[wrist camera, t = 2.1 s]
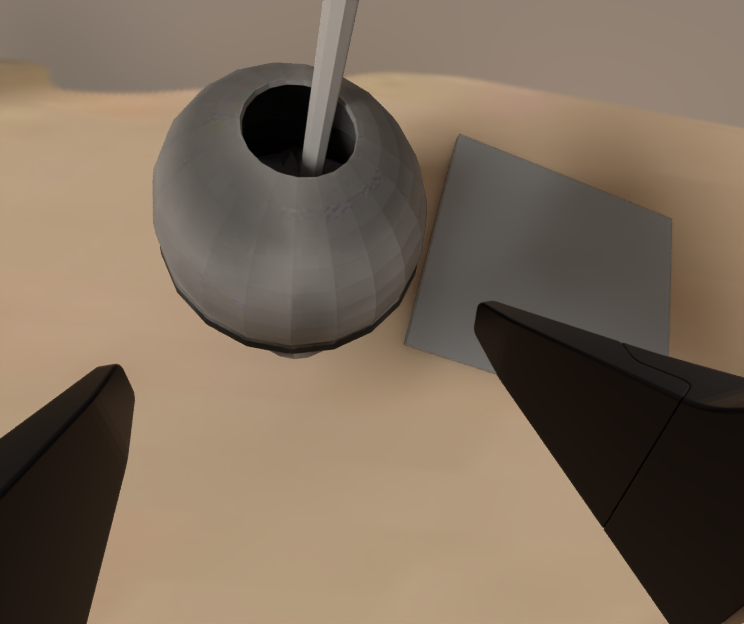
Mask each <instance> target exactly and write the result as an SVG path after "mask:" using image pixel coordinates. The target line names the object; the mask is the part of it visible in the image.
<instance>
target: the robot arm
mask: <svg viewBox="0 0 744 624" xmlns="http://www.w3.org/2000/svg"><path fill="white" fill-rule="evenodd" d="M474 333H475V335H476V337H477V339H478V341H479V343H480V345H481V347H482V348H483V350H484V352H485V354H486V356H487V358H488V360H489V361H490V363H491V365H492V367H493V369H494V371H495V372H496V374H497V376H498V377H499V379H500V380H501V382H502V383H503V385H504V386H505V388H506V389H507V391H508V392H509V394H510V395H511V396H512V398H513V399H514V401H515V402H516V404H517V405H518V406H519V408H520V409H521V411H522V412H523V414H524V415H525V417H526V418H527V419H528V421H529V422H530V424H531V425H532V427H533V428H534V430H535V431H536V432H537V434H538V435H539V437H540V438H541V440H542V441H543V443H544V444H545V445H546V447H547V448H548V450H549V451H550V453H551V454H552V455H553V457H554V458H555V460H556V461H557V463H558V464H559V466H560V467H561V468H562V470H563V471H564V473H565V474H566V476H567V477H568V479H569V480H570V481H571V483H572V484H573V486H574V487H575V489H576V490H577V491H578V493H579V494H580V496H581V497H582V499H583V500H584V502H585V503H586V504H587V506H588V507H589V509H590V510H591V512H592V513H593V515H594V516H595V517H596V519H597V520H598V522H599V523H600V525H601V526H602V527H603V528H604V531H605V532H606V534H607V535H608V537H609V538H610V539H611V541H612V542H613V544H614V545H615V547H616V548H617V549H618V551H619V552H620V554H621V555H622V557H623V558H624V560H625V561H626V562H627V564H628V565H629V567H630V568H631V570H632V571H633V573H634V574H635V575H636V577H637V578H638V580H639V581H640V583H641V584H642V585H643V587H644V588H645V590H646V591H647V593H648V594H649V596H650V597H651V598H652V600H653V601H654V603H655V604H656V606H657V607H658V609H659V610H660V611H661V613H662V614H663V616H664V617H665V619H666V620H667V622H668V623H669V624H742V623H744V377H740V376H736V375H733V374H729V373H726V372H722V371H718V370H715V369H711V368H707V367H704V366H700V365H697V364H693V363H689V362H686V361H682V360H679V359H675V358H672V357H668V356H665V355H662V354H658V353H655V352H652V351H649V350H645V349H642V348H639V347H636V346H633V345H630V344H627V343H621V342H620V341H617V340H614V339H611V338H608V337H605V336H602V335H599V334H596V333H593V332H589V331H586V330H583V329H580V328H577V327H574V326H571V325H568V324H565V323H562V322H559V321H556V320H552V319H549V318H546V317H543V316H540V315H537V314H534V313H531V312H528V311H525V310H522V309H519V308H515V307H512V306H509V305H506V304H503V303H500V302H497V301H493V300H491V301H485V302H481V303H479V304H478V306H477V311H476V317H475V323H474ZM134 403H135V396H134V391H133V389H132V386H131V384H130V382H129V380H128V378H127V376H126V374H125V372H124V370H123V368H122V367H121V366H120V365H119V364H111V365H105V366H99V367H97V368H95V369H94V370H92V371H91V372H90V373H88V374H87V375H86V376H84V377H83V378H82V379H80V380H79V381H78V382H76V383H75V384H73V385H72V386H71V387H69V388H68V389H67V390H65V391H64V392H63V393H61V394H60V395H59V396H57V397H56V398H55V399H53V400H52V401H50V402H49V403H48V404H46V405H45V406H44V407H42V408H41V409H40V410H38V411H37V412H36V413H34V414H33V415H31V416H30V417H29V418H27V419H26V420H25V421H23V422H22V423H21V424H19V425H18V426H17V427H15V428H14V429H13V430H11V431H10V432H8V433H7V434H6V435H4V436H3V437H2V438H0V624H87V620H88V616H89V612H90V608H91V604H92V600H93V596H94V592H95V589H96V585H97V581H98V577H99V573H100V569H101V565H102V561H103V557H104V553H105V549H106V545H107V541H108V537H109V533H110V529H111V525H112V521H113V517H114V513H115V509H116V505H117V501H118V497H119V493H120V489H121V485H122V481H123V477H124V474H125V469H126V465H127V460H128V453H129V445H130V437H131V428H132V420H133V411H134Z"/></svg>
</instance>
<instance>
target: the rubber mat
mask: <svg viewBox="0 0 744 624" xmlns="http://www.w3.org/2000/svg"><path fill="white" fill-rule="evenodd" d="M671 245H672V219H671V218H669V217H666V216H664V215H661V214H659V213H656V212H654V211H651V210H649V209H646V208H644V207H641V206H639V205H636V204H634V203H631V202H629V201H626V200H624V199H621V198H619V197H616V196H614V195H611V194H609V193H606V192H604V191H601V190H599V189H596V188H594V187H591V186H589V185H586V184H584V183H582V182H579V181H577V180H574V179H572V178H569V177H567V176H564V175H562V174H559V173H557V172H554V171H552V170H549V169H547V168H544V167H542V166H539V165H537V164H534V163H532V162H529V161H527V160H524V159H522V158H519V157H517V156H514V155H512V154H509V153H507V152H504V151H502V150H499V149H497V148H494V147H492V146H489V145H487V144H484V143H482V142H479V141H477V140H474V139H472V138H469V137H467V136H464V135H462V134H459V136H458V137H457V139H456V142H455V146H454V150H453V154H452V158H451V162H450V166H449V170H448V174H447V178H446V182H445V185H444V189H443V193H442V197H441V201H440V205H439V209H438V213H437V217H436V221H435V225H434V228H433V232H432V236H431V240H430V244H429V248H428V252H427V256H426V260H425V264H424V268H423V272H422V275H421V279H420V283H419V287H418V291H417V295H416V299H415V303H414V307H413V311H412V315H411V318H410V322H409V326H408V330H407V334H406V338H405V342H404V345H407V346H410V347H413V348H416V349H419V350H422V351H426V352H429V353H432V354H435V355H438V356H441V357H444V358H447V359H450V360H453V361H457V362H460V363H463V364H466V365H469V366H472V367H475V368H478V369H481V370H484V371H487V372H491V373H494V374H496V372H495V371H494V369H493V367H492V365H491V363H490V361H489V360H488V358H487V356H486V354H485V352H484V350H483V348H482V347H481V345H480V343H479V341H478V339H477V337H476V335H475V333H474V323H475V317H476V311H477V306H478V304H479V303H481V302H485V301H491V300H493V301H497V302H500V303H503V304H506V305H509V306H512V307H515V308H519V309H522V310H525V311H528V312H531V313H534V314H537V315H540V316H543V317H546V318H549V319H552V320H556V321H559V322H562V323H565V324H568V325H571V326H574V327H577V328H580V329H583V330H586V331H589V332H593V333H596V334H599V335H602V336H605V337H608V338H611V339H614V340H617V341H620V342H621V343H627V344H630V345H633V346H636V347H639V348H642V349H645V350H649V351H652V352H655V353H658V354H662V355H665V356H668V354H669V317H670V281H671Z"/></svg>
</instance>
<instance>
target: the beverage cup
mask: <svg viewBox="0 0 744 624" xmlns="http://www.w3.org/2000/svg"><path fill="white" fill-rule="evenodd" d="M358 2H359V0H323V5H322V12H321V20H320V28H319V35H318V43H317V50H316V58H315V65H314V67H313V66H309V65H306V64H290V63H269V64H264V65H259V66H254V67H250V68H245V69H239V70H236V71H234V72H232V73H230V74H228V75H226V76H225V77H223V78H221V79H219V80H217V81H215V82H213V83H211V84H210V85H208V86H206V87H205V88H204V89H203V90H202V91H201V92H199V93H198V94H197V95H196V97H195V98H194V99H193V100H192V101H191V102H190V103H189V104H188V105H187V106H186V107H185V108H184V110H183V111H182V112H181V113H180V114H179V115H178V116H177V117H176V118H175V119H174V120H173V122H172V125H171V127H170V129H169V131H168V133H167V136H166V139H165V141H164V144H163V146H162V149H161V151H160V154H159V156H158V159H157V161H156V164H155V167H154V172H153V224H154V228H155V232H156V236H157V238H158V241H159V243H160V250H161V255H162V257H163V259H164V262H165V264H166V267H167V269H168V271H169V274H170V276H171V279H172V281H173V284H174V286H175V288H176V291H177V293H178V294H179V295H180V296H181V297H182V298H183V299H184V300H185V301H186V302H187V304H188V305H189V306H190V307H191V308H192V309H193V310H194V311H195V312H196V313H197V314H198V315H199V317H200V318H201V319H202V320H203V321H204V322H205V323H206V324H207V325H209V326H211V327H212V328H214V329H216V330H218V331H220V332H222V333H223V334H225V335H227V336H229V337H231V338H233V339H234V340H236V341H238V342H240V343H242V344H244V345H245V346H249V347H254V348H259V349H264V350H269V351H271V352H273V353H275V354H277V355H279V356H282V357H287V358H292V359H299V358H307V357H310V356H313V355H315V354H317V353H319V352H321V351H324V350H333V349H336V348H338V347H340V346H342V345H344V344H347V343H349V342H351V341H353V340H355V339H358V338H360V337H362V336H364V335H366V334H368V333H371V332H372V331H373V330H374V329H375V328H376V327H377V326H378V325H379V324H380V323H381V322H383V321H384V320H385V319H386V318H387V317H388V316H389V315H390V314H391V313H392V312H393V311H394V310H395V309H396V308H397V307H398V306H399V305H400V303H401V301H402V299H403V297H404V295H405V293H406V291H407V289H408V287H409V285H410V283H411V282H412V280H413V278H414V276H415V273H416V268H417V263H418V261H419V259H420V255H421V251H422V247H423V239H424V232H425V224H426V217H427V201H426V196H425V191H424V186H423V181H422V176H421V171H420V166H419V163H418V160H417V157H416V155H415V153H414V151H413V149H412V148H411V146H410V144H409V142H408V140H407V138H406V137H405V135H404V133H403V131H402V129H401V128H400V126H399V124H398V123H397V122H396V120H395V119H394V118H393V116H392V115H391V114H390V113H389V112H388V111H387V110H386V109H385V108H384V107H383V106H382V105H381V104H380V103H379V102H378V101H377V100H376V99H375V98H374V97H373V96H372V95H371V94H370V93H369V92H367V91H365V90H363V89H362V88H360V87H358V86H357V85H355V84H353V83H352V82H350V81H348V80H347V79H345V78H343V74H344V69H345V64H346V59H347V55H348V50H349V45H350V40H351V35H352V31H353V26H354V21H355V16H356V12H357V7H358Z"/></svg>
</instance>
